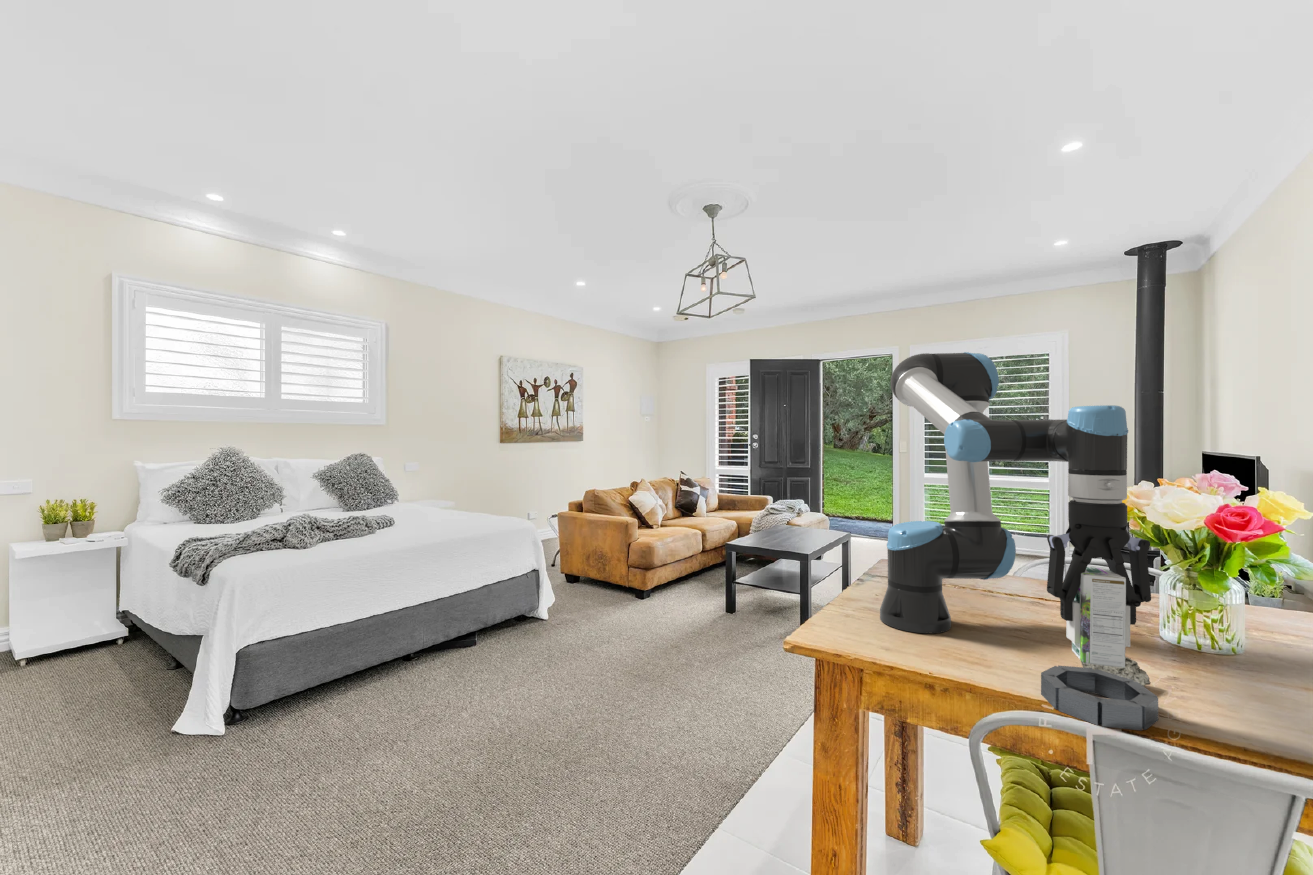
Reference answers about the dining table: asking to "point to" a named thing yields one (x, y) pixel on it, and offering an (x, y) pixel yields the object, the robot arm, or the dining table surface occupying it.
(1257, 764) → the dining table surface
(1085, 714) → the collar
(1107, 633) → the syrup box
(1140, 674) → the rock sample
